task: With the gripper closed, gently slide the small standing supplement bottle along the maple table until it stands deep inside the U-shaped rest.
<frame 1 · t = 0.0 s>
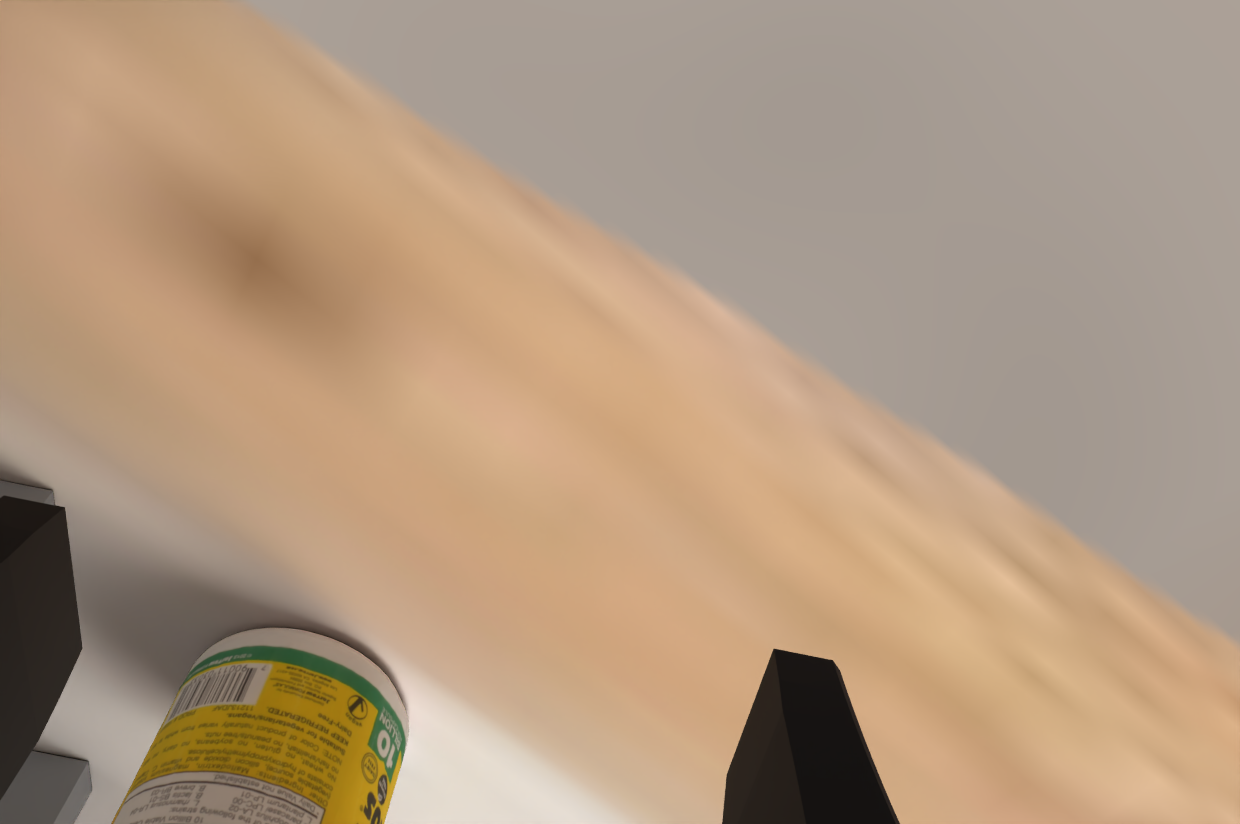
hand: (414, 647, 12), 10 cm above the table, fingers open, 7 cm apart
supplement bottle: (306, 693, 29), on the table
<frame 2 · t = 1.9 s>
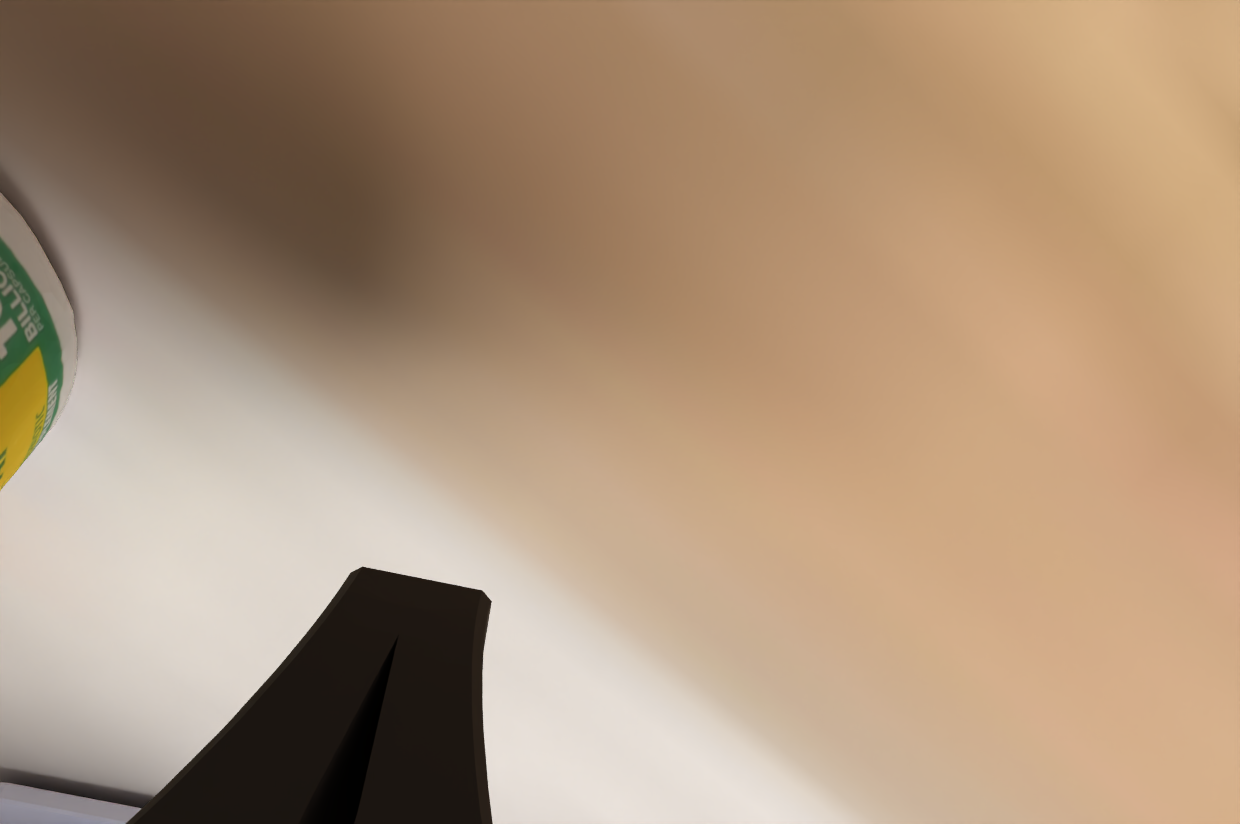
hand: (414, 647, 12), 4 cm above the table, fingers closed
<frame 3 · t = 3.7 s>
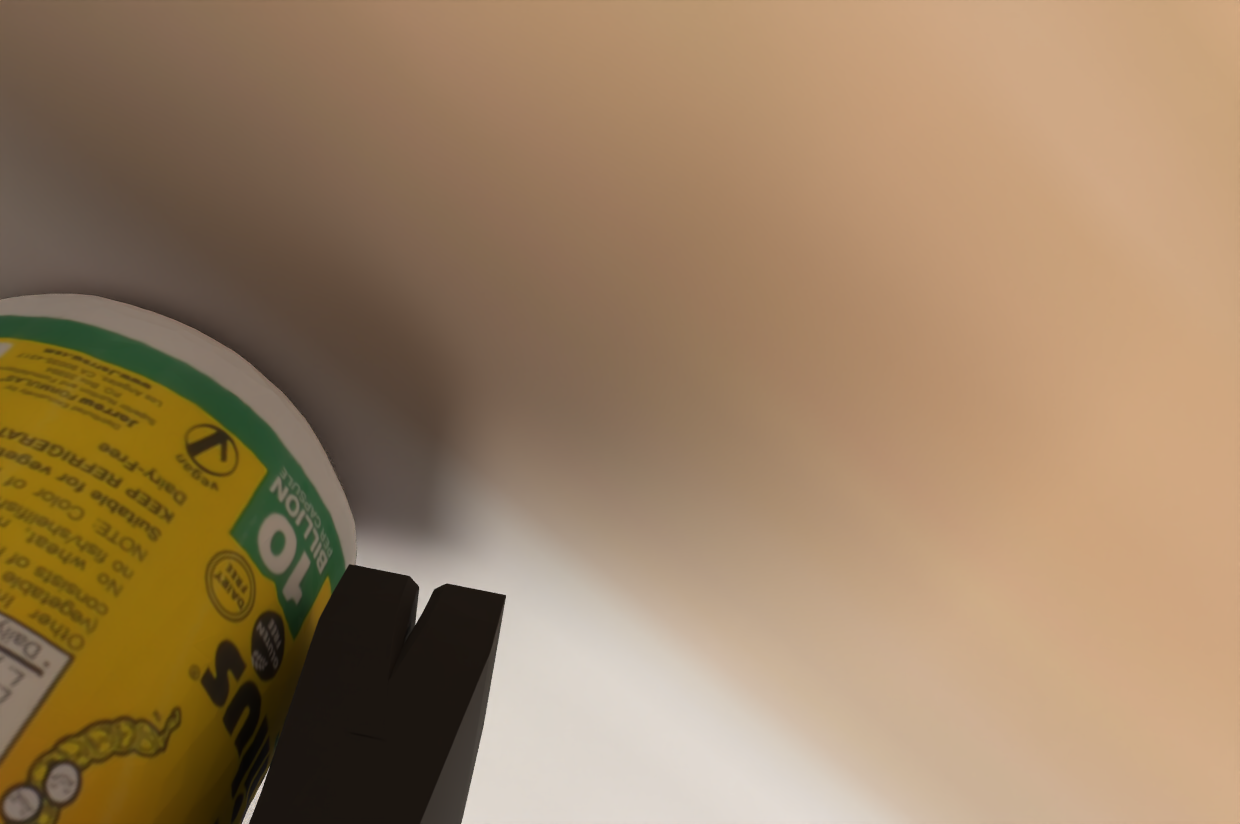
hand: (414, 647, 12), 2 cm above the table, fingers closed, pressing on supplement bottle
supplement bottle: (150, 477, 14), on the table, touching gripper
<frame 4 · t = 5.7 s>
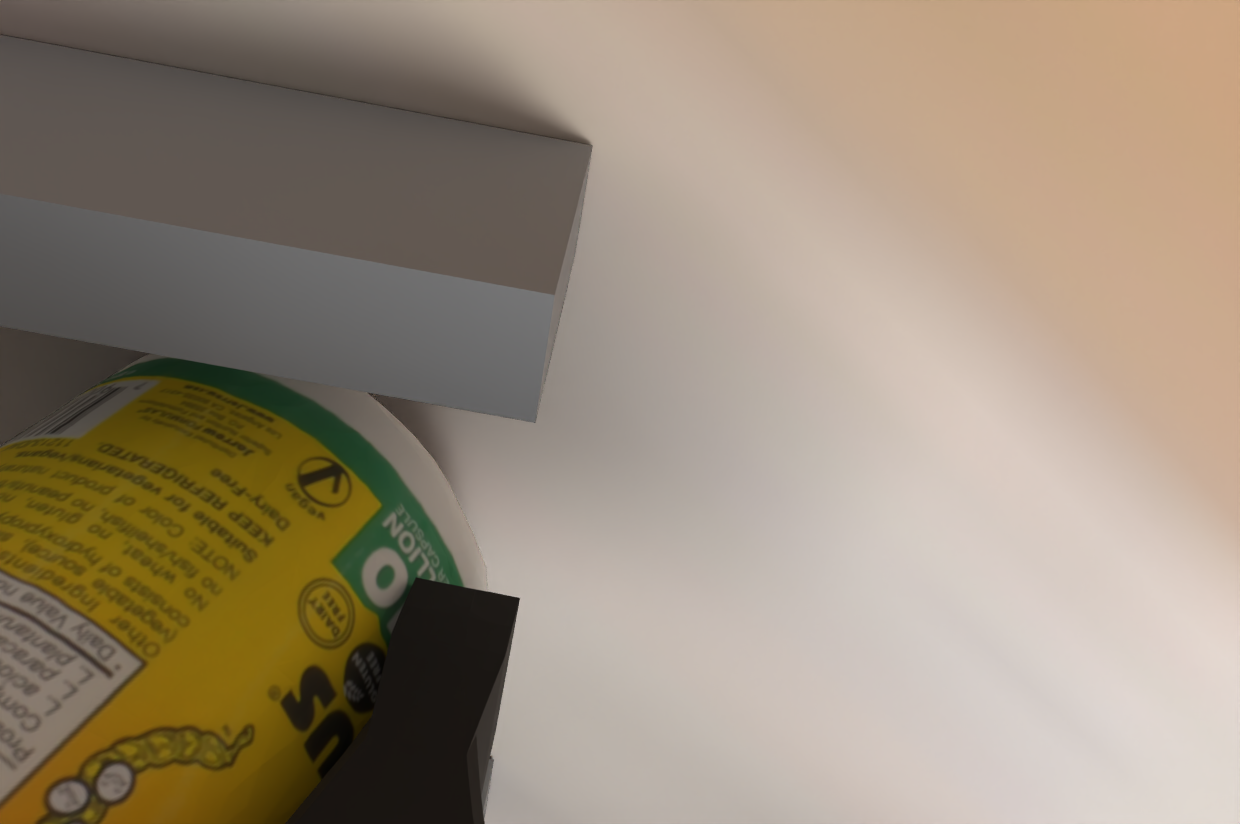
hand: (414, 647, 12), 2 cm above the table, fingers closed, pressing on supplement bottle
u rest: (74, 467, 14), on the table
supplement bottle: (312, 522, 14), on the table, touching gripper
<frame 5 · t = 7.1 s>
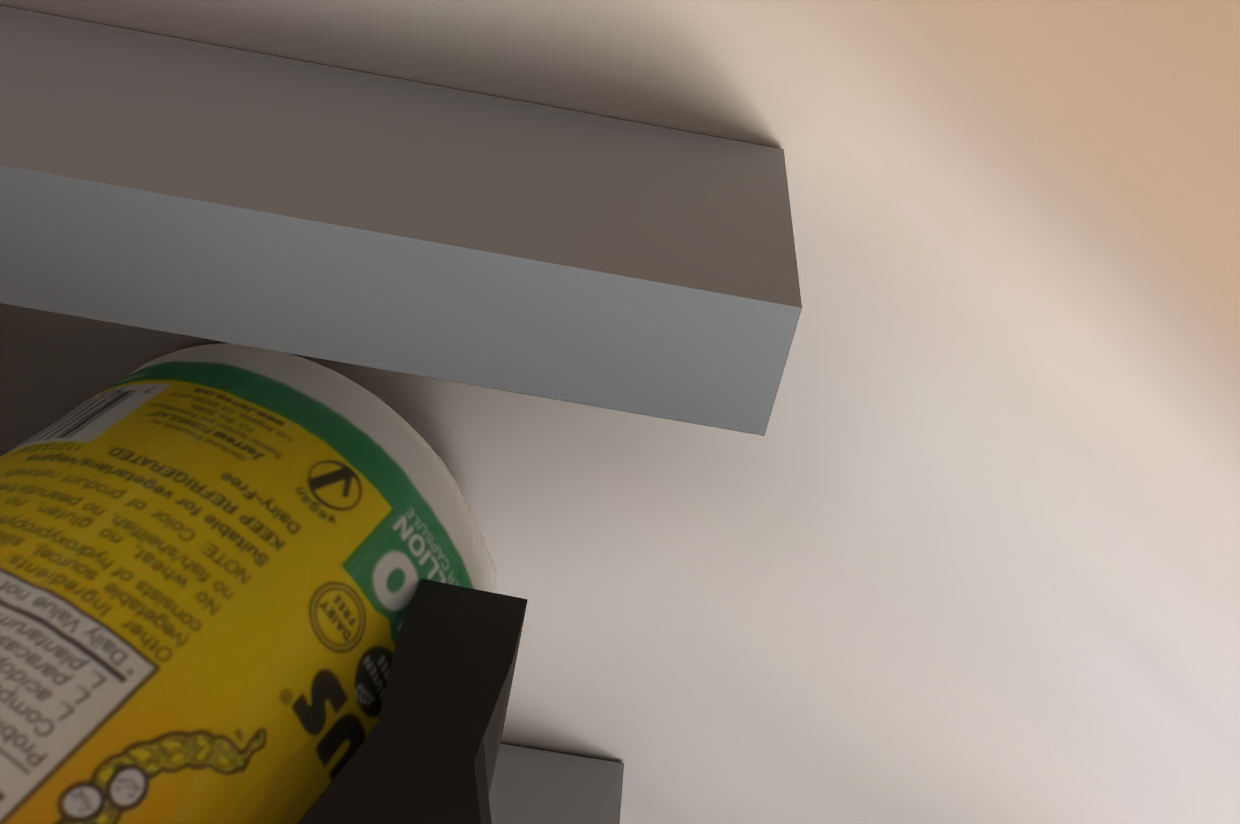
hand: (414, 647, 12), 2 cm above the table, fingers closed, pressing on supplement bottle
u rest: (220, 474, 14), on the table
supplement bottle: (320, 525, 14), on the table, touching gripper
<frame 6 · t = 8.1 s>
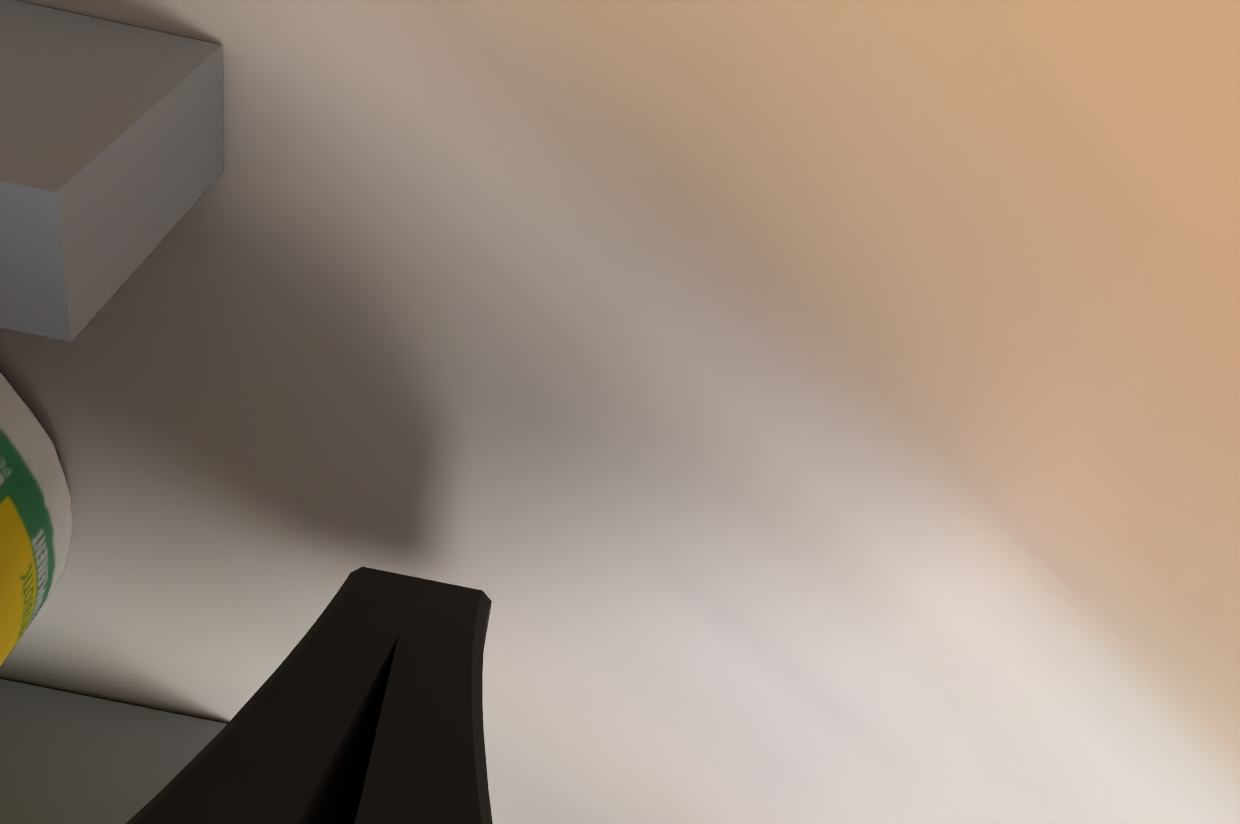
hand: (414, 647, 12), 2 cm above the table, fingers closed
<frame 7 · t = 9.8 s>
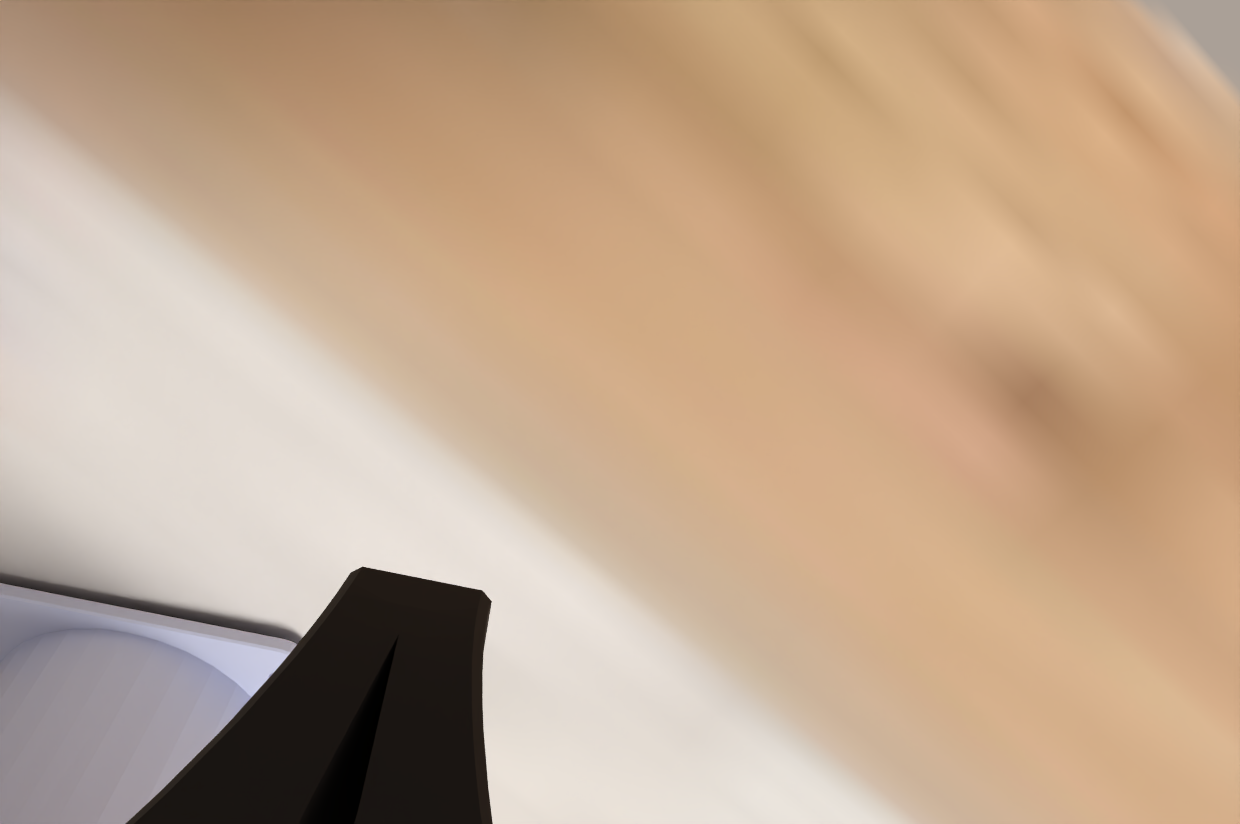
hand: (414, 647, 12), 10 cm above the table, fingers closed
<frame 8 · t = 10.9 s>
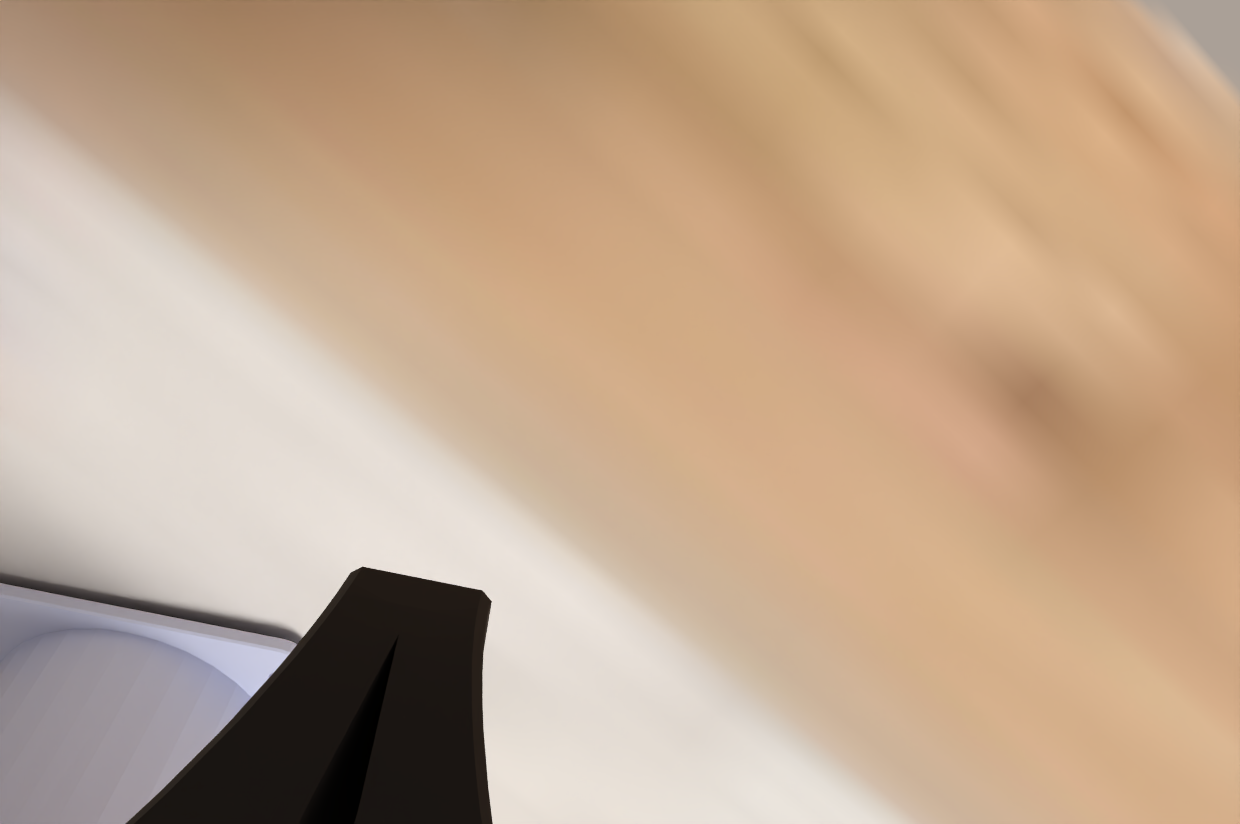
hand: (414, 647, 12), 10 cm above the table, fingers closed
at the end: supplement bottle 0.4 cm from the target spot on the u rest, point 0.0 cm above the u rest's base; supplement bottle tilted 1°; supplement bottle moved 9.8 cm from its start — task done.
